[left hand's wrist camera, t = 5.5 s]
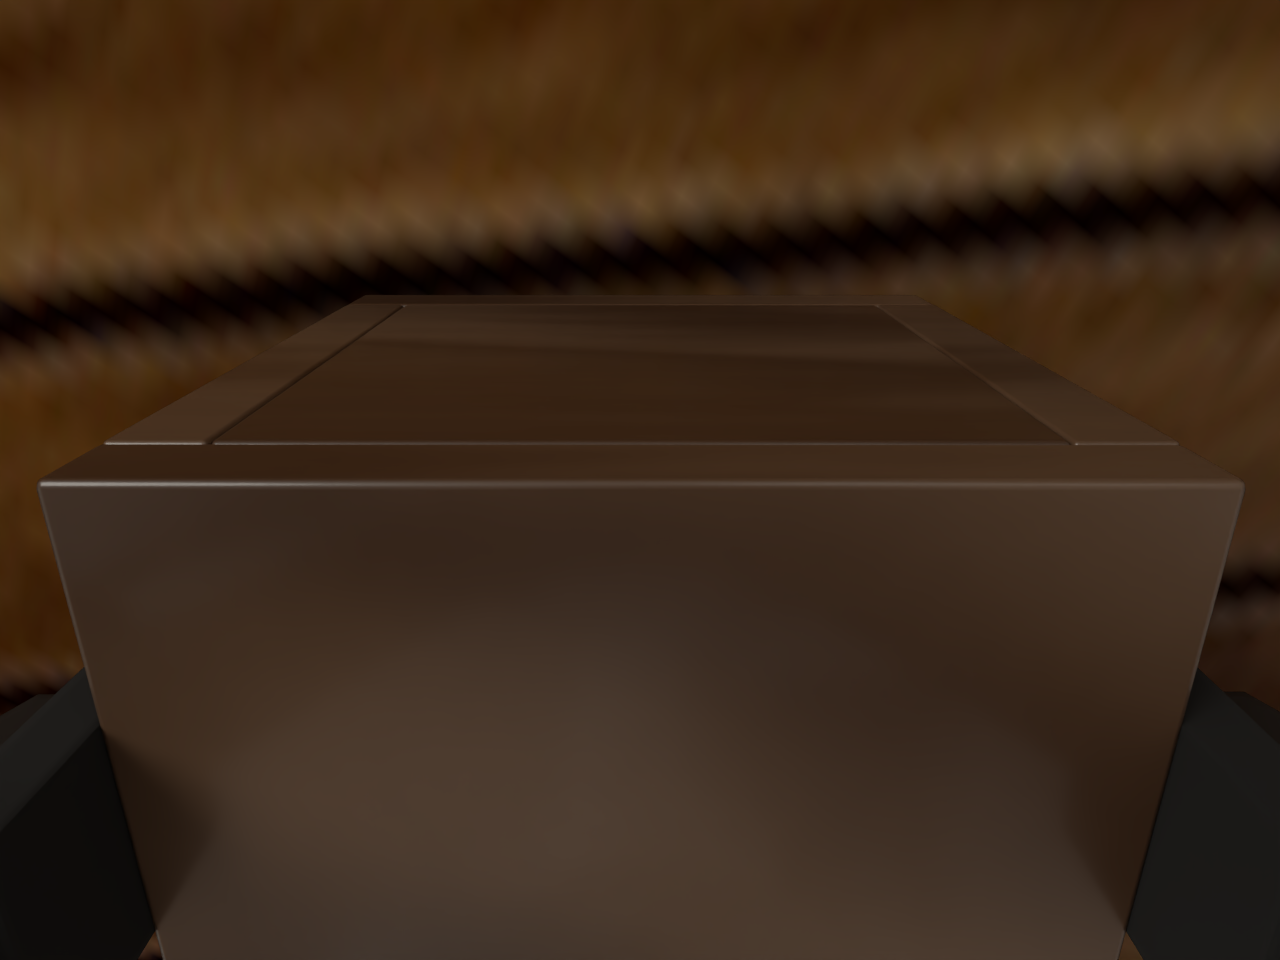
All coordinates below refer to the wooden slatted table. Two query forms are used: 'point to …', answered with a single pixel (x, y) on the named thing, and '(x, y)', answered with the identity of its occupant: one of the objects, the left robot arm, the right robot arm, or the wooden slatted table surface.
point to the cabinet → (640, 636)
